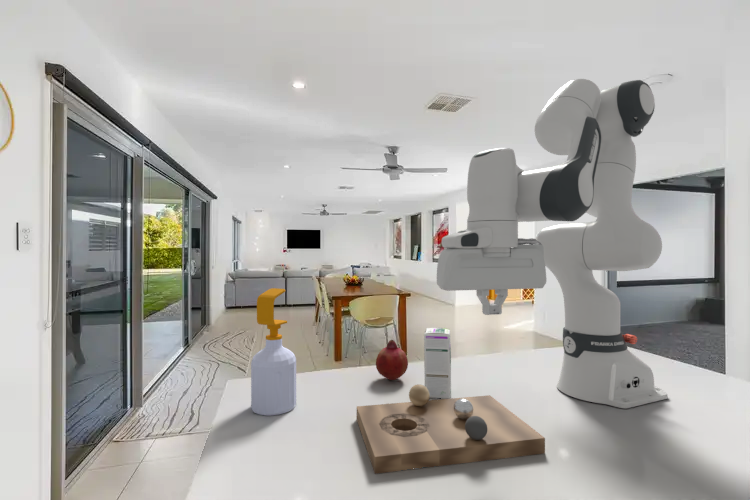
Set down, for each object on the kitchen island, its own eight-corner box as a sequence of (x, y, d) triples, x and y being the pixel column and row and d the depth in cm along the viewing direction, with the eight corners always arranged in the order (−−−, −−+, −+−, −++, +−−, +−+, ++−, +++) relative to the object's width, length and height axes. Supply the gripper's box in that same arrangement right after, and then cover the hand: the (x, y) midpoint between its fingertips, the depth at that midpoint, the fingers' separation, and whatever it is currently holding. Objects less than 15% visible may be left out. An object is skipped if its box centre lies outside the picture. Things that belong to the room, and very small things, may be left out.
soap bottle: (304, 402, 81) (304, 288, 81) (276, 420, 73) (276, 292, 73) (271, 395, 85) (271, 286, 85) (241, 411, 77) (241, 290, 77)
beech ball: (425, 400, 76) (425, 380, 76) (432, 409, 72) (432, 388, 72) (406, 402, 75) (406, 382, 75) (412, 410, 71) (412, 389, 71)
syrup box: (451, 399, 83) (451, 333, 83) (423, 397, 84) (423, 332, 84) (451, 390, 88) (451, 328, 88) (425, 388, 90) (425, 326, 89)
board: (489, 407, 79) (489, 395, 79) (544, 453, 61) (544, 437, 61) (356, 419, 73) (356, 406, 73) (374, 473, 56) (374, 456, 56)
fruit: (413, 378, 97) (413, 338, 97) (398, 387, 90) (398, 345, 90) (386, 372, 101) (386, 334, 101) (369, 381, 94) (369, 341, 94)
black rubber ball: (481, 432, 63) (481, 411, 63) (491, 443, 60) (491, 420, 60) (461, 434, 62) (461, 413, 62) (470, 445, 59) (470, 422, 59)
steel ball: (468, 413, 70) (468, 394, 70) (476, 422, 67) (476, 402, 67) (450, 415, 69) (450, 396, 69) (458, 424, 66) (458, 404, 66)
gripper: (533, 238, 74) (532, 309, 74) (433, 238, 70) (433, 313, 70) (554, 238, 68) (554, 315, 68) (446, 237, 64) (446, 319, 64)
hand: (491, 314), depth 69 cm, fingers closed
